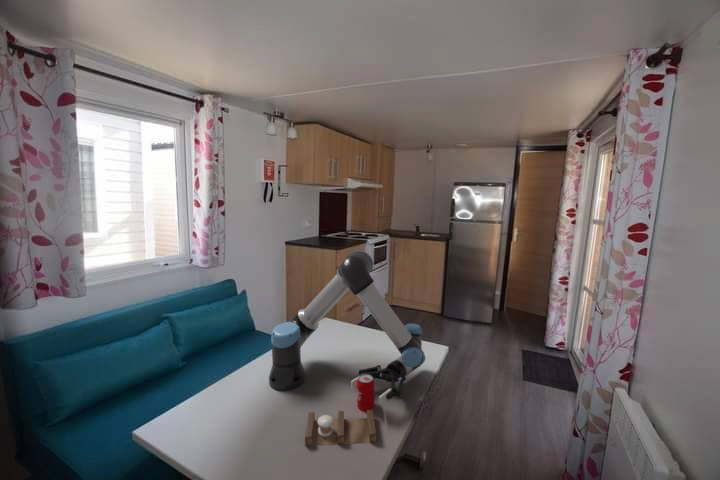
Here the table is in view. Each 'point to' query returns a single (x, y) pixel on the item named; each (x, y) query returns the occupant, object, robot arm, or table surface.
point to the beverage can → (365, 392)
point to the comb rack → (342, 430)
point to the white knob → (325, 426)
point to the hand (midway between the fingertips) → (364, 392)
